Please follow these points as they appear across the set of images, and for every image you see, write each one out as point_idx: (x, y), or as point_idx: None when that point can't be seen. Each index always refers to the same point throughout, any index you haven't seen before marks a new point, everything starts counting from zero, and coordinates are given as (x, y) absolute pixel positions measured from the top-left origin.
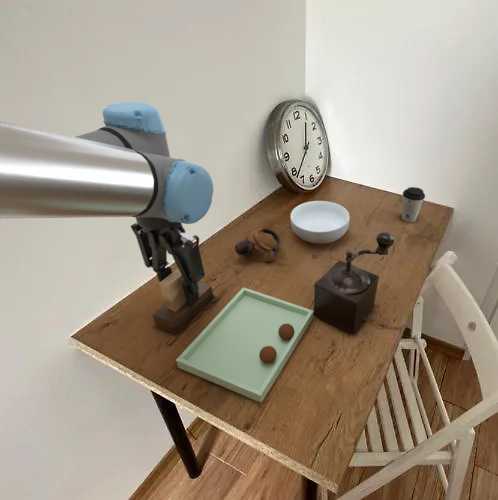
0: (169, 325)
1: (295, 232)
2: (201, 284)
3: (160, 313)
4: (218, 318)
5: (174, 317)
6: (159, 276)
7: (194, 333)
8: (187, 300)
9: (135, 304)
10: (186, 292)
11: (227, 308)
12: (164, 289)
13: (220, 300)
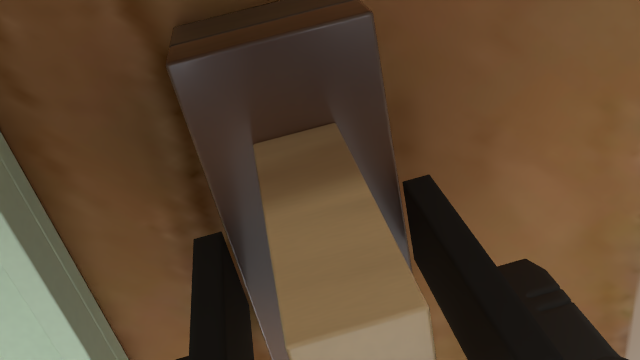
0: (206, 38)
1: None
2: None
3: (333, 63)
4: (15, 284)
5: (207, 108)
6: (533, 339)
7: (92, 111)
8: (209, 277)
9: (616, 15)
10: (192, 355)
11: (62, 356)
12: (344, 272)
13: None
